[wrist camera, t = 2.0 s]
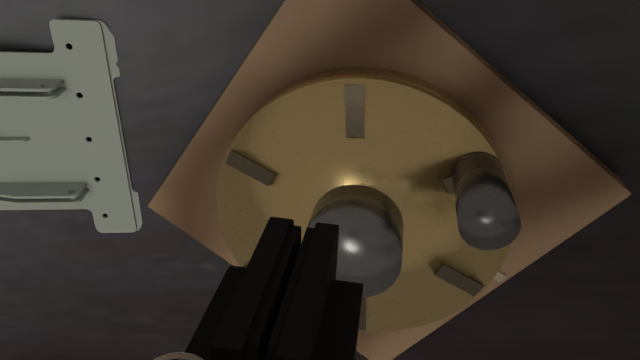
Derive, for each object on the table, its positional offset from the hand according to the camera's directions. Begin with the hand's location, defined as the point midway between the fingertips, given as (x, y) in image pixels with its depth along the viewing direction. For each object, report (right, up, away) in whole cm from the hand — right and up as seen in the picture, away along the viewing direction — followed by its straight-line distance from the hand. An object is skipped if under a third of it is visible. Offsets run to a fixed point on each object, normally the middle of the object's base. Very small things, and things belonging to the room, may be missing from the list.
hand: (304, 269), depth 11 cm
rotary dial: (+3, +1, +16) cm, 16 cm away
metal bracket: (-19, +6, +21) cm, 28 cm away
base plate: (+3, +2, +18) cm, 18 cm away
